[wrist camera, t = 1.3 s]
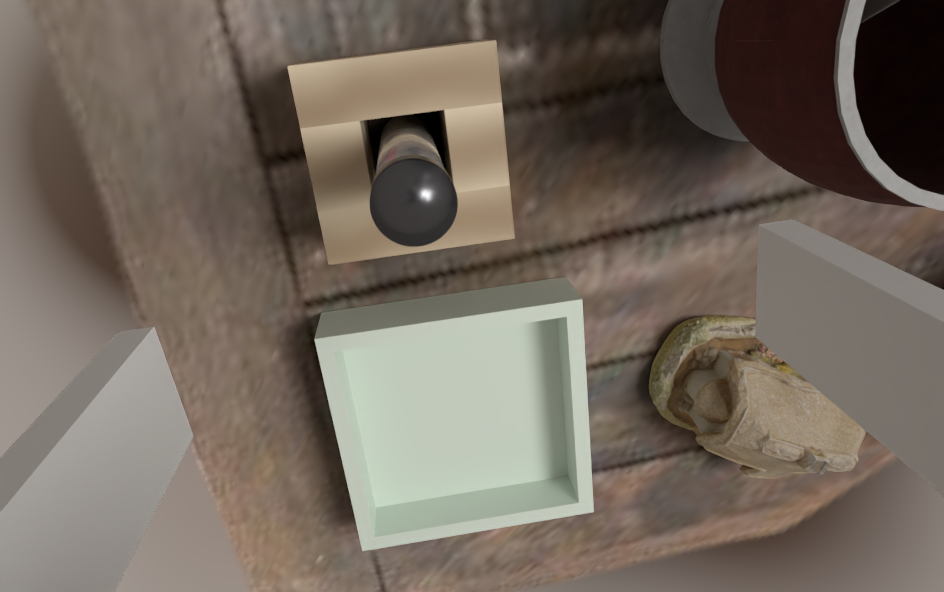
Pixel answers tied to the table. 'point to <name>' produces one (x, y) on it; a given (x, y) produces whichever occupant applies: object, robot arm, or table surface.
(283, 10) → the table surface
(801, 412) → the ceramic model
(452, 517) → the tray
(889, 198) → the mate gourd
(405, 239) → the pin
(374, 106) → the hitch block
